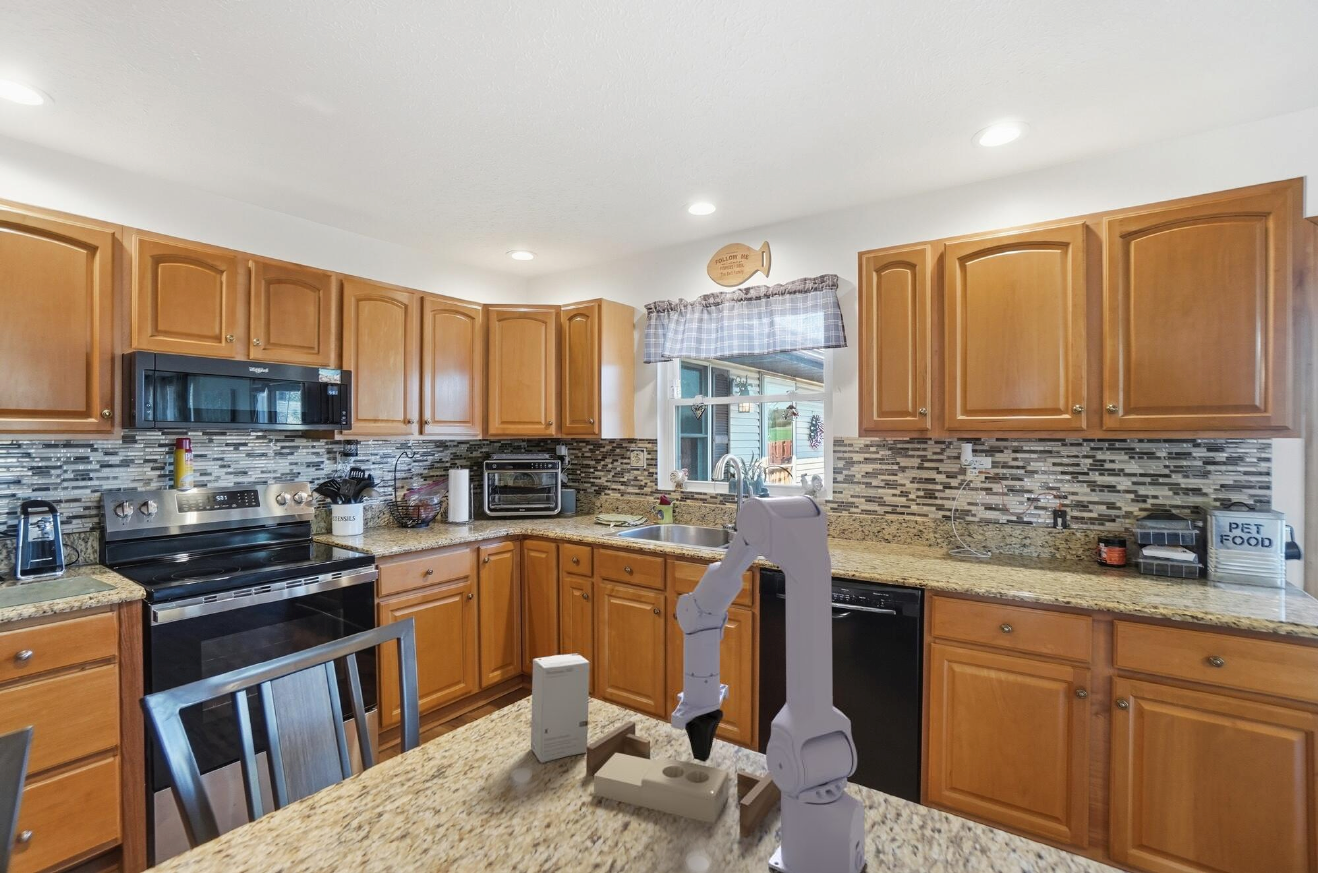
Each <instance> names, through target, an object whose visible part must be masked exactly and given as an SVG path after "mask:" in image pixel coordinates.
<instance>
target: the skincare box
mask: <svg viewBox="0 0 1318 873" xmlns="http://www.w3.org/2000/svg"><path fill="white" fill-rule="evenodd" d="M531 681H532V684H531V687H532V688H531V718H530V719H531V722H530V723H531V724H530V725H531V726H530V727H531V728H530V749H531V750H532V752H533V753H534V754H535V756H536V759H537V760H538V761H539V763H541V764H542V763H547V762H550V761H553V760H557V759H561V758H565V757H569V756H574V755H581V754H585V753H586V754H587V746H588V735H589V734H588V733H589V732H588V729H589V727H588V726H589V695H590V694H589V692H590V691H589V690H590V661H589V660H587V659H586V658H585V657H584V656H582V655H581V654H579V653H570V654H569V653H568V654H557V655H556V654H555V655H551V656H544V657H537V658H533V659H532V680H531Z"/></svg>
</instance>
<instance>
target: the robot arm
mask: <svg viewBox="0 0 1318 873" xmlns="http://www.w3.org/2000/svg"><path fill="white" fill-rule="evenodd" d="M735 518H736V519H735V521H736V522H735V523H736V530H737V531H736V533H735V535H734V536H733V539H732V540H731V543H730V544H729V546H728V548H727V549H726V552H725V554H724V556H723V558H722V560H721V561H716V562H713V563H709V564H708V566H707V567H706V571H705V572H704V574H703V576H702V577H701V579H700V580H699V582H698V584H697V585H696V586H695V588H694V590H693V591H692V592H688V593H685V594H684V593H683V594H681V595H679V597H678V600H677V602H676V610H675V612H676V619H677V622H678V626H679V627H680V629H681V631H683V649H682V650H683V657H682V658H683V661H682V662H683V665H682V666H683V667H682V668H683V674H682V676H683V680H682V681H683V686H682V688H683V690H682V692H680V693H678V694H677V700H678V701H679V703H678V705H677V706H676V708H675V709H674V711H673V712H672V713H671V714H670V727H671V728H674V729H676V730H680V731H684V730H685V731H686V733H687V738H688V741H689V744H690V749H691V752H692V757H693V759H694V760H697V761H700V762H704V763H705V762H707V761H708V760H709V759H710V755H711V751H712V748H713V742H714V738H715V735H716V733H717V730H718V728H719V725H720V722H722V719H723V718H724V711H723V710H722V709H720V708H721V706H722V704H723V700H727V699H728V698H729V697H730V691H729V690H730V689H729V685H727V684H722V683H721V642H722V641H723V639H724V636H725V635H724V634H725V632H724V630H725V627H726V626H727V624H728V620H729V613H728V611H727V610H728V609H729V607H730V606H731V604H732V603H733V602H734V600H736V597H738V594H740V592H741V591H742V590H743V586H744V580H743V575H744V574H745V572H746V571H747V570H748V569H749V568H750V566H752V565H753V563H754V562H755V561H756V559H758V557H759V556H760V555H761V556H762V557H763V558H765V560H767V561H768V562H769V563H770V564H772V565H775V566H778V568H780V570H781V572H782V573H783V574H784V576H785V660H786V661H785V664H786V665H785V667H786V669H785V676H786V677H785V678H786V680H785V683H786V684H785V686H786V689H785V690H786V693H785V694H786V697H785V698H786V701H785V703H784V705H783V707H782V708H781V709H780V710H779V712H778V713H777V714H776V715H775V717H774V719H773V720H772V721H771V724H770V738H769V740H768V743H767V744H766V745H767V746H766V752H765V753H766V754H765V761H766V766H767V772H769V774H770V776H771V778H772V780H773V782H774V783H775V784H776V786H777V787H778V788H779V789H780V790H781V799H780V844H779V846H778V848H777V849H776V850H775V851H774V853H773V855H772V856H770V858H769V860H768V862H767V863H768V864H767V865H768V866H769V867H770V868H772V869H774V870H777V871H779V872H781V873H861V872H862V871H863V869H864V866H865V865H866V863H867V856H866V855H865V851H866V848H865V847H866V846H865V844H866V843H865V841H866V840H865V839H866V838H865V834H866V833H865V832H866V830H865V829H866V828H865V821H866V819H865V816H866V815H865V807H864V803H863V801H862V800H860V799H858V798H856V797H854V796H852V795H851V794H849V793H848V792H847V791H846V790H845V789H846V788H848V778H849V777H851V776H852V775H854V773H855V771H856V770H857V766H858V754H857V749H856V746H855V743H854V740H853V736H852V722H851V720H850V718H849V717H847V716H846V715H845V714H844V713H843V712H842V711H841V710H839V709H838V708H836V707H835V706H834V704H833V698H834V696H833V628H832V627H833V619H832V618H833V615H832V614H833V613H832V612H833V611H832V608H833V607H832V604H833V603H832V599H833V598H832V560H831V555H830V552H829V548H828V544H829V543H828V538H829V537H828V512H826V510H825V509H824V508H823V507H822V506H821V505H820V503H819V502H818V501H817V500H816V499H815V498H814V497H812V496H811V495H807V494H800V495H798V496H777V497H776V496H775V497H758V496H751V497H749V498H747V499H746V500H745V501H744V502H743V503H742V505H741V508H740V510H739V511H738V512H737V514H736V517H735Z"/></svg>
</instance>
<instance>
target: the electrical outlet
mask: <svg viewBox="0 0 1318 873" xmlns="http://www.w3.org/2000/svg"><path fill="white" fill-rule="evenodd" d="M593 795H594V796H597V797H600V798H606V799H610V800H614V801H617V802H623V803H626V804H630V805H633V806H634V805H635V806H638V807H643V808H647V809H651V810H656V811H658V812H659V811H660V812H664V813H668V814H672V815H677V816H680V817H685V818H688V819H689V818H690V819H693V820H698V821H702V822H705V823H710V824H715V823H716V822H717V820H718V818H719V816H720V814H721V812H722V810H723V808H724V806H725V804H726V802H727V800H728V798H729V771H728V770H726V769H723V768H717V767H713V766H708V765H703V764H698V763H693V762H687V761H682V760H679V759H675V758H674V759H673V758H669V757H663V756H660V757H659V758H658V759H657V760H654V759H650V760H649V759H645V758H640V757H635V756H630V755H626V754H620V753H615V754H614V755H613V756H612V757H611V758H610V759H609V760H608V761H607V762H606V763H605V764H604V765H603V766H602V768H601V769H600V770H599V771H598V772H597V773H595V774H594V775H593Z"/></svg>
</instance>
